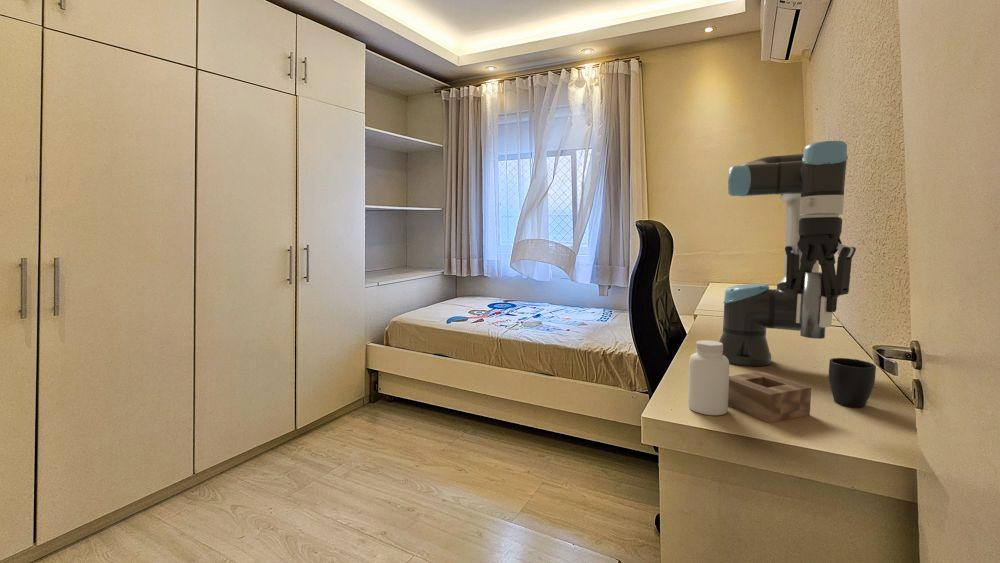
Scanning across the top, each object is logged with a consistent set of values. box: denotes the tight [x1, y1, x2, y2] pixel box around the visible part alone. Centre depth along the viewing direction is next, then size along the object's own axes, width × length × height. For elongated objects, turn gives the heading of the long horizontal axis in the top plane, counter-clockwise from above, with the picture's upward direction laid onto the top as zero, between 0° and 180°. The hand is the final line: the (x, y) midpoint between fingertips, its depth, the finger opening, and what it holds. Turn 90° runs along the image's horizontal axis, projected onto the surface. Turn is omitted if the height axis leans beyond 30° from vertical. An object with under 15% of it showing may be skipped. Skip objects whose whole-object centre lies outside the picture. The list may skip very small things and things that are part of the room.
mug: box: [828, 357, 877, 409], centre depth 101 cm, size 8×12×10 cm
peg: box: [799, 271, 827, 340], centre depth 96 cm, size 4×4×14 cm
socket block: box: [728, 371, 812, 424], centre depth 97 cm, size 12×12×6 cm
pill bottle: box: [687, 339, 730, 416], centre depth 97 cm, size 8×8×15 cm
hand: (813, 324), depth 97 cm, fingers closed on peg, 4 cm apart
